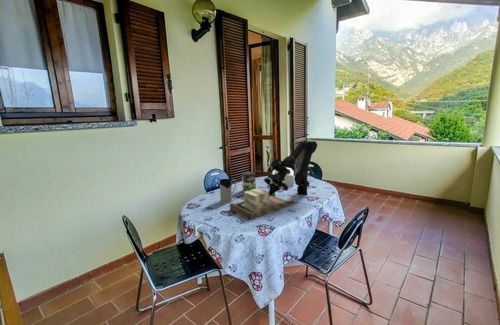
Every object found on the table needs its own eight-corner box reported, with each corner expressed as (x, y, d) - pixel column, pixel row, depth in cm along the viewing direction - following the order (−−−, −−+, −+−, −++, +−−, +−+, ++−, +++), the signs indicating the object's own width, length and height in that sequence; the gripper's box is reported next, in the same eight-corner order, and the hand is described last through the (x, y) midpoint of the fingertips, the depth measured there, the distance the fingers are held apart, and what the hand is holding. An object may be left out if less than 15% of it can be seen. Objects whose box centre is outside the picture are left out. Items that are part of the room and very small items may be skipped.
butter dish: (271, 186, 201) (271, 167, 198) (273, 180, 219) (272, 162, 215) (293, 186, 198) (293, 166, 195) (293, 180, 216) (293, 162, 212)
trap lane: (273, 196, 176) (273, 190, 176) (294, 203, 161) (294, 197, 160) (230, 209, 155) (230, 203, 155) (249, 219, 140) (248, 213, 139)
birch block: (258, 201, 162) (257, 188, 160) (269, 205, 153) (268, 192, 152) (244, 205, 156) (243, 191, 154) (255, 210, 147) (254, 196, 145)
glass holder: (217, 201, 171) (216, 180, 168) (232, 196, 181) (231, 176, 178) (225, 204, 165) (224, 182, 162) (240, 198, 175) (239, 178, 172)
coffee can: (258, 191, 189) (257, 173, 186) (246, 193, 185) (245, 175, 182) (252, 187, 198) (251, 170, 195) (240, 190, 194) (239, 172, 191)
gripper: (265, 166, 167) (253, 185, 163) (284, 170, 152) (271, 192, 148) (274, 175, 173) (262, 194, 169) (293, 180, 158) (281, 201, 154)
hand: (269, 195), depth 160 cm, fingers closed
